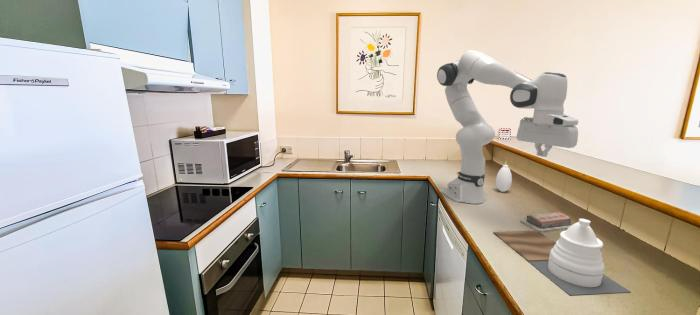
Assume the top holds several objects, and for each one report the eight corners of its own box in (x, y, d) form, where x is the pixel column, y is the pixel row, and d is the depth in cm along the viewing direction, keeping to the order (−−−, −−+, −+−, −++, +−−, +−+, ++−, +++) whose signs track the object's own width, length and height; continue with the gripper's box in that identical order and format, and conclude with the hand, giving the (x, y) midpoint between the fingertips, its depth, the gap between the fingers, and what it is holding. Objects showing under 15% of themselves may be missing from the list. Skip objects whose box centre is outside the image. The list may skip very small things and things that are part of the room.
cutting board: (493, 233, 112) (493, 231, 112) (536, 231, 113) (536, 230, 113) (528, 262, 92) (528, 260, 92) (580, 259, 94) (580, 258, 94)
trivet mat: (528, 262, 92) (528, 261, 92) (580, 259, 94) (580, 259, 94) (569, 295, 77) (569, 295, 77) (630, 292, 78) (630, 291, 78)
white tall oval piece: (498, 188, 167) (501, 158, 163) (512, 191, 161) (516, 160, 157) (492, 191, 162) (495, 160, 158) (506, 194, 156) (510, 162, 152)
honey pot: (604, 293, 77) (618, 232, 74) (547, 276, 84) (557, 220, 81) (597, 270, 88) (609, 215, 84) (547, 257, 95) (556, 206, 91)
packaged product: (555, 208, 125) (577, 218, 116) (553, 219, 126) (575, 229, 117) (520, 212, 121) (540, 222, 112) (519, 222, 122) (538, 233, 113)
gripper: (515, 116, 111) (510, 151, 114) (571, 121, 92) (564, 162, 95) (526, 116, 113) (521, 150, 116) (583, 120, 95) (576, 160, 98)
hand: (541, 156), depth 106 cm, fingers closed
